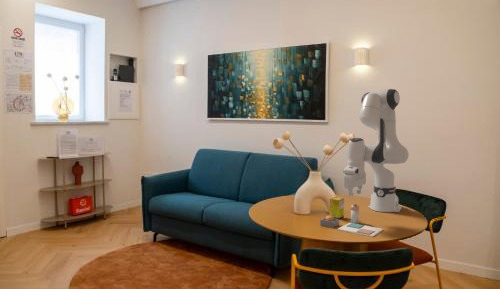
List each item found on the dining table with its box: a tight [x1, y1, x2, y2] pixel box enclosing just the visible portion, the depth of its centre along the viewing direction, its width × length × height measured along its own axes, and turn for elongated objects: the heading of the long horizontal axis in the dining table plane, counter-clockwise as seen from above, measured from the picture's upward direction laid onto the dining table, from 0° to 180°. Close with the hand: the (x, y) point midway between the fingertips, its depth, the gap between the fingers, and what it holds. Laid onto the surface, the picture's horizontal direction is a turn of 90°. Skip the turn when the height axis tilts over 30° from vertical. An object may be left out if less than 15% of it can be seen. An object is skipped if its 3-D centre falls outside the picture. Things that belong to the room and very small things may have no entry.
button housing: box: [319, 217, 340, 229], centre depth 207 cm, size 7×7×3 cm
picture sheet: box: [337, 222, 384, 238], centre depth 199 cm, size 14×18×1 cm
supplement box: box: [329, 196, 345, 220], centre depth 222 cm, size 6×6×11 cm
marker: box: [350, 203, 360, 224], centre depth 212 cm, size 4×4×10 cm
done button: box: [325, 215, 334, 221], centre depth 207 cm, size 4×4×3 cm
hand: (354, 194), depth 211 cm, fingers open, 8 cm apart
